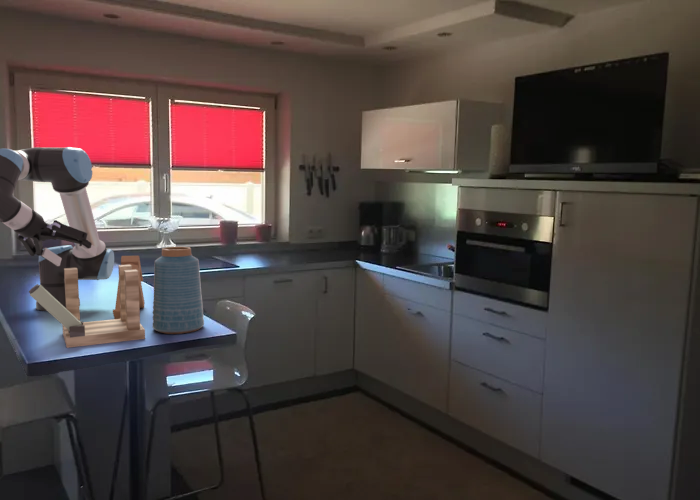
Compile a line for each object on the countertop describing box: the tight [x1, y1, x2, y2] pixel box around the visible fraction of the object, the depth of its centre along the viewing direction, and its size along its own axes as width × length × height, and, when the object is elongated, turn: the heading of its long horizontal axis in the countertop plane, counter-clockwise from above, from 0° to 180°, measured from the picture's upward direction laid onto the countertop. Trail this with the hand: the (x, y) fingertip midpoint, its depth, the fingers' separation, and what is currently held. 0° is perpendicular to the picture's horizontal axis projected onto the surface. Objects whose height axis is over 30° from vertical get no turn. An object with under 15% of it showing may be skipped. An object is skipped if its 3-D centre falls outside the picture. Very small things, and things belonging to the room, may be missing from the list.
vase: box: [152, 246, 205, 335], centre depth 198 cm, size 16×16×27 cm
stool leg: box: [28, 283, 82, 331], centre depth 177 cm, size 4×4×17 cm
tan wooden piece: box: [112, 255, 145, 319], centre depth 218 cm, size 7×23×25 cm
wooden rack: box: [61, 264, 146, 349], centre depth 189 cm, size 18×22×21 cm
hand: (77, 257), depth 185 cm, fingers open, 13 cm apart
